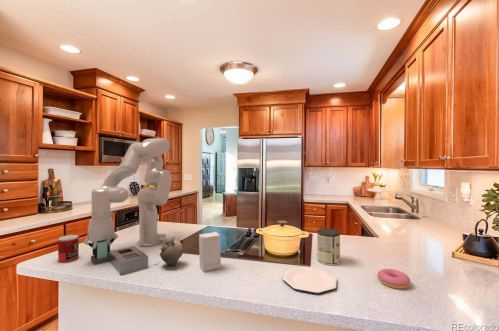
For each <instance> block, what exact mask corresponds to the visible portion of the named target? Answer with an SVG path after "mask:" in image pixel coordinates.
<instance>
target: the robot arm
mask: <svg viewBox="0 0 499 331" xmlns="http://www.w3.org/2000/svg"><path fill="white" fill-rule="evenodd" d="M170 147H171V144H170V141H169V140H168V139H167V138H165V137H164V138H163V137H157V138H147V139H144V140H143V141H142V142H134V143H131V144H130V145H129V147H128V149H127V151H126V152H125V155H124V157H123V159H122V161H121V162H120V164H119V166H118V167H117V168H115V169H114V170H113V171H112V172H111V173H110V174H109V175H107V177H106V178H105V179H104V181H103V183H102V185H101V186H100V188H95V189H92V190H91V218H90V219H89V220H88V226H87V236H86V237H85V239H84V240H83V241H82V243H83V244H84V245H86V246H89V247H90V248H91V249H92V256H95V257H97V248H96V244H97V241H102V240H106V241H107V255H108V254H109V251H111V245H112V244H113V242H115V240H116V239H118V238H119V236H118V234H117V232H115V227H114V226H115V225H114V220H113V219H114V218H113V217H112V216H113V215H115V211H111V206H112V205H111V204H112V203H113V204H114V203H115V204H116V203H118V204H119V203H124V202H125V201H127V200H128V198H129V196H130V195H129V191H128V189H127V188H125V187H121V186H120V187H119V186H118V185H119V184H120V183H121V182H122V181H123V180H125V179H128V178H129V177H132V176H133V175H135V174H137V172H138V170H139V167H140V165H141V163H142V161H143V160H144V159H147V164H146V168H145V173H144V179H143V182H144V183H145V184H146V185H148V186H151V187H143V188H141V189H140V190H139V191H138V192H137V195H136V198H137V204H138V210H139V212H138V214H139V216H138V218H139V219H138V221H139V222H138V223H139V226H138V227H139V235H138V236H139V239H138V240H137V241H136V245H137V246H138V247H152V246H153V247H154V246H156V245H158V244H160V243H161V238H162V239H163V238H166V237H167V235H166V233H158V208H157V206H164V205H166V203H167V202H168V199H169V196H170V191H171V186H172V180H173V179H172V178H173V177H172V174H171V172H170V171H169V170H167V169H163V166H164V160H163V157H162V155H163V154H166V153H168V151H169V150H170Z"/></svg>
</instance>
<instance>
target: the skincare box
mask: <svg viewBox="0 0 499 331" xmlns="http://www.w3.org/2000/svg"><path fill="white" fill-rule="evenodd" d="M198 244H199V245H198V247H199V248H198V250H199V251H198V252H199V256H198V257H199V268H200V270H201V272H202V273H206V272H210V271H213V270H218V269H221V268H222V264H221V262H222V260H221V258H222V256H221V235H220V234H219V233H218V232H217V231H213V232H208V233H207V232H206V233H201V234H198Z"/></svg>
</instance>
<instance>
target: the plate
mask: <svg viewBox="0 0 499 331" xmlns="http://www.w3.org/2000/svg"><path fill="white" fill-rule="evenodd" d="M282 280H283V282H284V283H286V284H287V285H289V286H290V287H291V288H292V289H293V290H297V291H301V292H305V293H306V292H307V293H311V294H323V293H326V292H329V291H333V290H335V289H337V281H338V280H337V277H336V276H334V275H332V274H331V273H329V272H327V271H326V270H324V269H323V268H322V269H320V268H314V267H308V266H300V267H296V268H289V269H286V271H285V273H284V275H283V276H282Z"/></svg>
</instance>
